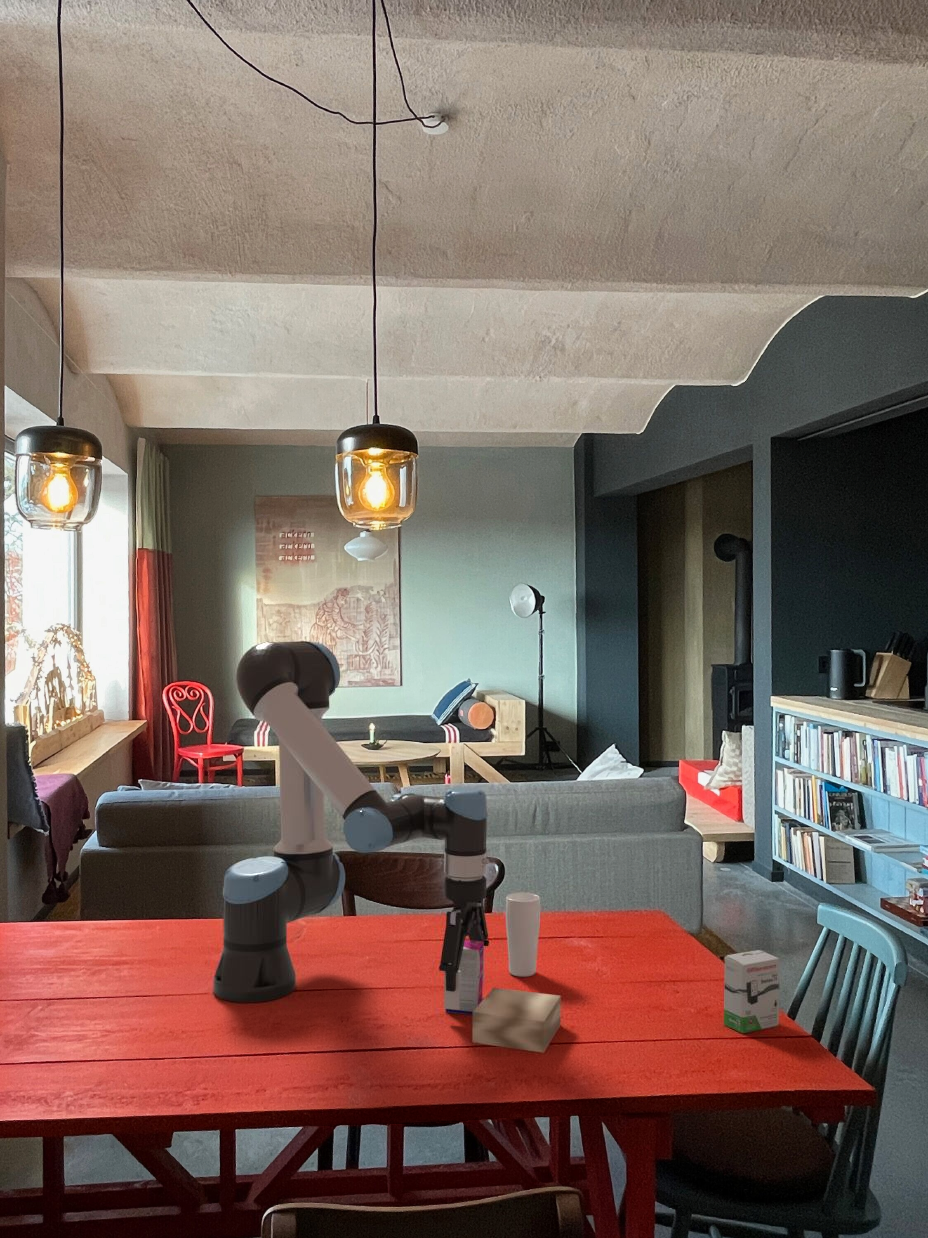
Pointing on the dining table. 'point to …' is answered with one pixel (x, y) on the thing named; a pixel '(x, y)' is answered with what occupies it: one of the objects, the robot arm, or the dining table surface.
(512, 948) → the drinking glass
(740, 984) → the ink box
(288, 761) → the robot arm
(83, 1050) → the dining table surface
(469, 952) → the supplement box
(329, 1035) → the dining table surface
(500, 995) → the maple block
